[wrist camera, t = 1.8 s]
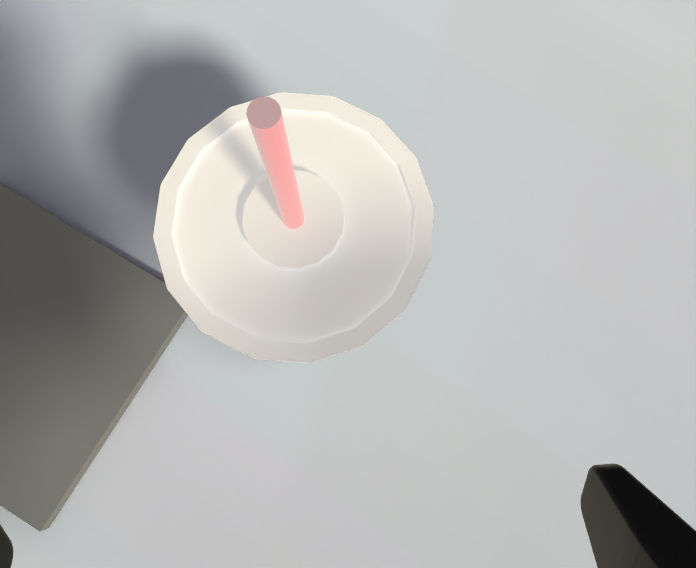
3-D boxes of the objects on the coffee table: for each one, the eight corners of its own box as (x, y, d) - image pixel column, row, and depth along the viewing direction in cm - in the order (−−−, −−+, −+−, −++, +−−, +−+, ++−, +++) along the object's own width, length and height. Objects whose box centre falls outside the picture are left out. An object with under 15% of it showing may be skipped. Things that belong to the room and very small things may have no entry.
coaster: (49, 527, 20) (40, 531, 20) (-160, 389, 21) (-175, 389, 20) (196, 301, 22) (191, 299, 21) (-4, 181, 22) (-14, 175, 22)
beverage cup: (302, 180, 22) (237, -159, 9) (431, 279, 22) (580, 79, 8) (195, 306, 22) (-65, 146, 8) (327, 412, 21) (295, 444, 7)
